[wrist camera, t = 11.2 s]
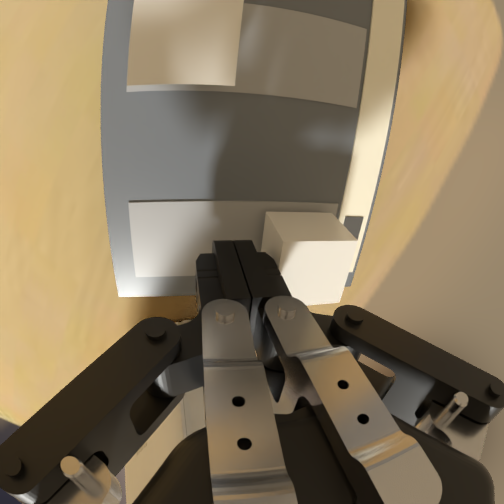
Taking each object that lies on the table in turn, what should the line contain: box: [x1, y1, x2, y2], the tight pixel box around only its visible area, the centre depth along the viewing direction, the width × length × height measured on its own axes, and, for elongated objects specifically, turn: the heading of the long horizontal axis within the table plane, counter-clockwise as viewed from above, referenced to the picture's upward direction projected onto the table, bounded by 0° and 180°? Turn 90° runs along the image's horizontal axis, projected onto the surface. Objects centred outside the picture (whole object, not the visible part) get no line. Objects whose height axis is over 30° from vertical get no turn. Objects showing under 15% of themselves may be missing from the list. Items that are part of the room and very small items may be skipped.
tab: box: [261, 212, 358, 306], centre depth 13 cm, size 3×3×2 cm
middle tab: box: [127, 0, 244, 86], centre depth 8 cm, size 3×3×2 cm
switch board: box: [101, 0, 407, 297], centre depth 11 cm, size 22×12×2 cm, turn 174°
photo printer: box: [125, 320, 205, 504], centre depth 15 cm, size 10×4×12 cm, turn 145°
